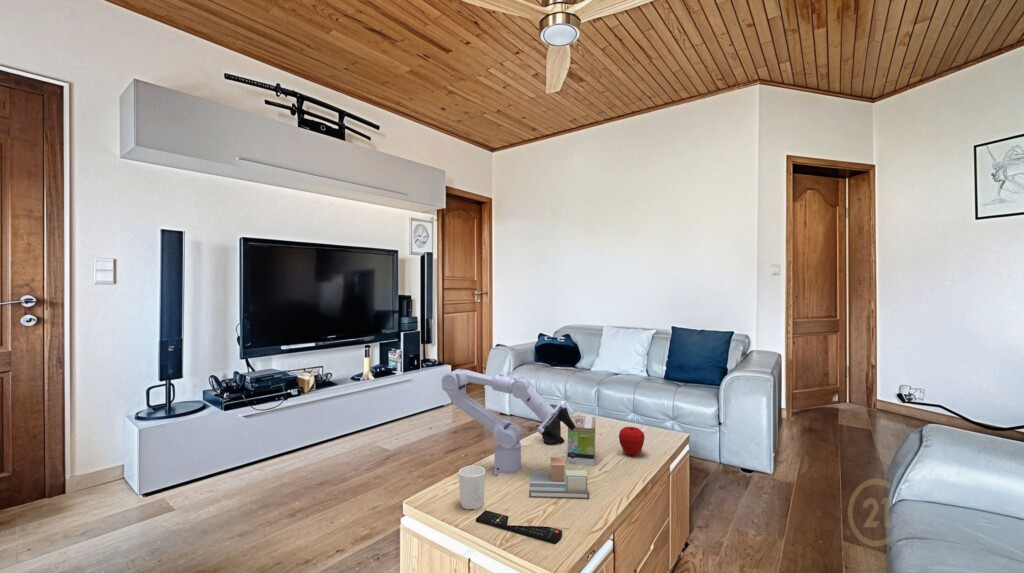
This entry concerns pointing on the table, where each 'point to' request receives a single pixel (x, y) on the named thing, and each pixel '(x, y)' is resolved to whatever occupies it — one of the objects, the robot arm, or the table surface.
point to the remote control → (520, 527)
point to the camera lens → (556, 425)
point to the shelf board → (551, 488)
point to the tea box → (581, 441)
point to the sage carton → (575, 480)
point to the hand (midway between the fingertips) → (568, 435)
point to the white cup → (472, 486)
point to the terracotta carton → (557, 469)
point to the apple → (631, 440)
